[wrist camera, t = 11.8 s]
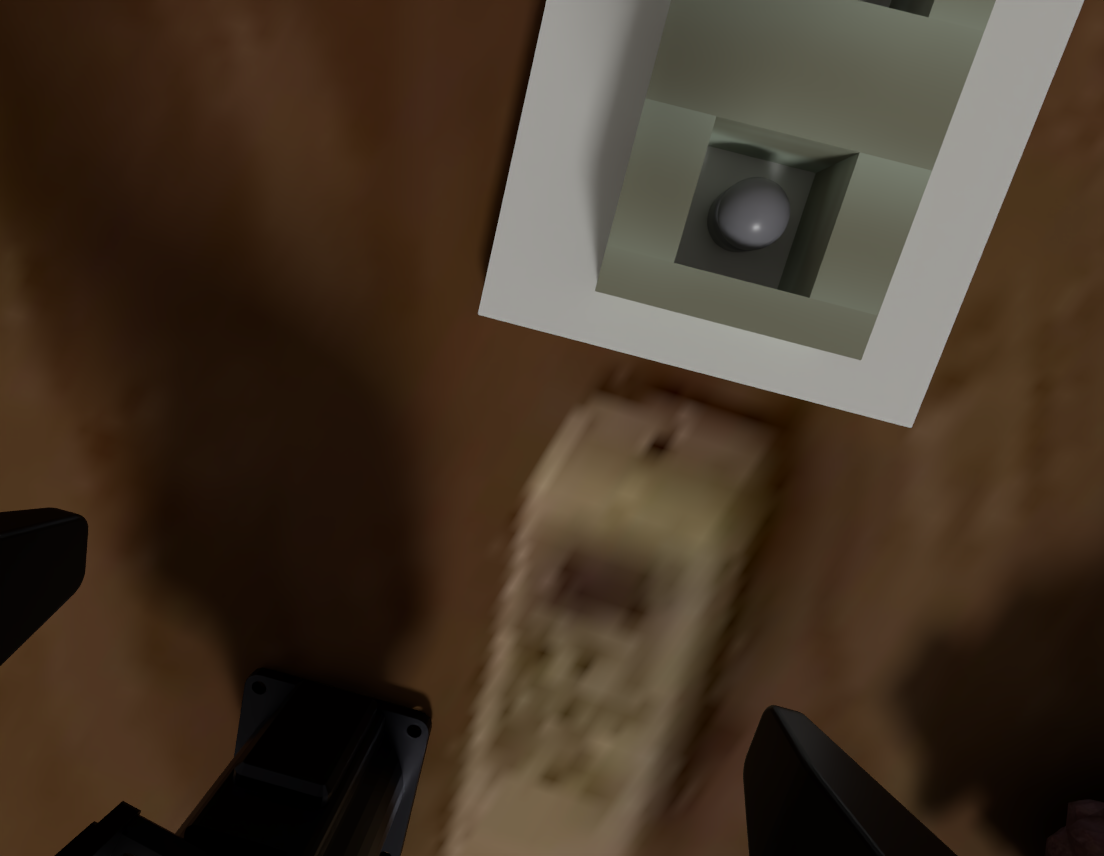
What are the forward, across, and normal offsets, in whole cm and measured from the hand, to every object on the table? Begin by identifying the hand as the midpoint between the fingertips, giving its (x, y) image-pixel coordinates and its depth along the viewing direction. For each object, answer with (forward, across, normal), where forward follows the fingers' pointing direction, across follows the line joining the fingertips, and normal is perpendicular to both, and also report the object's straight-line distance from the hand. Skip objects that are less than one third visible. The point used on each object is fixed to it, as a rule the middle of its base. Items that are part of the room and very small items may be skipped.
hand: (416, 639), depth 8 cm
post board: (+12, -4, -10) cm, 16 cm away
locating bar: (+10, -4, -10) cm, 15 cm away
